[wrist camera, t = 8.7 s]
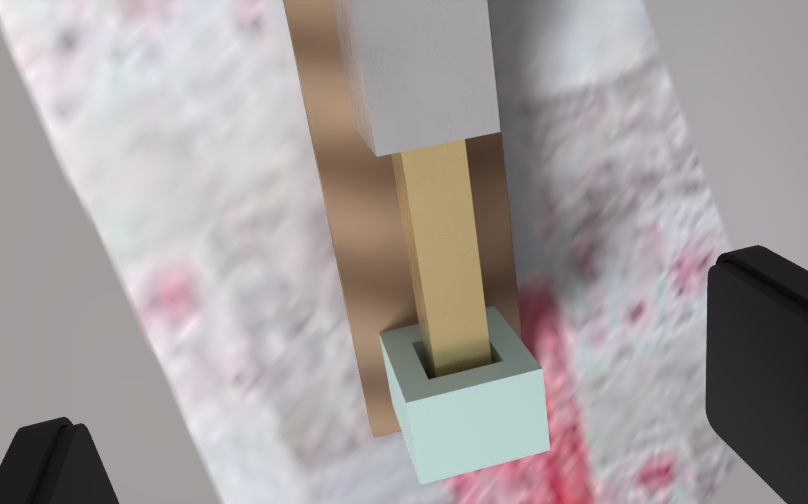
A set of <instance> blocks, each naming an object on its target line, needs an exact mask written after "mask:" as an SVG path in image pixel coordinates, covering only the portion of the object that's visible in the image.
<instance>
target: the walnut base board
mask: <svg viewBox="0 0 808 504" xmlns="http://www.w3.org/2000/svg"><path fill="white" fill-rule="evenodd" d="M283 2H284V7H285V12H286V17H287V22H288V26H289V31H290V36H291V41H292V46H293V51H294V56H295V61H296V65H297V70H298V75H299V80H300V85H301V90H302V95H303V100H304V105H305V109H306V114H307V119H308V124H309V129H310V134H311V139H312V144H313V148H314V153H315V158H316V163H317V168H318V173H319V178H320V183H321V187H322V192H323V197H324V202H325V207H326V212H327V217H328V222H329V227H330V231H331V236H332V241H333V246H334V251H335V256H336V261H337V266H338V270H339V275H340V280H341V285H342V290H343V295H344V300H345V305H346V309H347V314H348V319H349V324H350V329H351V334H352V339H353V344H354V349H355V353H356V358H357V363H358V368H359V373H360V378H361V383H362V388H363V392H364V397H365V402H366V407H367V412H368V417H369V422H370V426H371V429H372V433H373V436H374V438H376V437H380V436H384V435H388V434H392V433H395V432H399V431H402V430H401V428H400V425H399V422H398V419H397V416H396V413H395V410H394V408H393V405H392V399H391V394H390V389H389V383H388V378H387V373H386V367H385V362H384V357H383V351H382V346H381V341H380V335H379V333H381V332H386V331H390V330H394V329H398V328H402V327H407V326H411V325H415V324H419V322H418V316H417V310H416V304H415V297H414V291H413V285H412V279H411V273H410V267H409V261H408V254H407V248H406V242H405V236H404V230H403V224H402V218H401V211H400V205H399V199H398V193H397V187H396V181H395V175H394V168H393V162H392V156H391V154H389V155H384V156H379V157H376V156H375V154H374V153H373V152H372V150H371V149H370V148H369V146H368V145H367V144H366V142H365V141H364V140H363V138H362V137H361V136H360V134H359V133H358V132H357V131H356V129H355V128H354V124H353V118H352V113H351V107H350V101H349V96H348V90H347V85H346V79H345V74H344V68H343V63H342V57H341V52H340V46H339V41H338V35H337V29H336V24H335V18H334V13H333V7H332V2H331V0H283ZM487 2H488V0H487ZM488 12H489V8H488ZM489 22H490V18H489ZM490 32H491V28H490ZM491 42H492V38H491ZM492 52H493V48H492ZM493 61H494V58H493ZM494 71H495V68H494ZM495 81H496V78H495ZM496 91H497V88H496ZM497 101H498V97H497ZM498 111H499V107H498ZM499 121H500V117H499ZM500 131H501V127H500ZM465 145H466V153H467V161H468V169H469V178H470V186H471V194H472V202H473V211H474V219H475V227H476V235H477V244H478V252H479V260H480V268H481V277H482V285H483V293H484V302H485V308H487V307H491V306H495V308H496V309H497V310H498V312H499V313H500V314H501V315H502V317H503V318H504V319H505V321H506V322H507V323H508V325H509V326H510V327H511V328H512V330H513V331H514V332H515V334H516V335H517V336H518V337H519V339H520V340H521V341H522V335H521V325H520V316H519V306H518V296H517V286H516V276H515V266H514V256H513V246H512V236H511V226H510V216H509V207H508V197H507V187H506V177H505V167H504V157H503V147H502V137H501V132H497V133H492V134H487V135H482V136H477V137H473V138H468V139H465Z"/></svg>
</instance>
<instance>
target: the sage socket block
mask: <svg viewBox="0 0 808 504" xmlns="http://www.w3.org/2000/svg"><path fill="white" fill-rule="evenodd" d="M485 310H486V318H487V326H488V335H489V343H490V351H491V359H492V364H490V365H486V366H482V367H478V368H474V369H470V370H466V371H462V372H458V373H454V374H450V375H446V376H442V377H438V378H434V379H430V380H428V377H427V375H426V371H425V369H426V365H425V359H424V353H423V347H422V340H421V334H420V328H419V324H415V325H411V326H407V327H402V328H398V329H394V330H390V331H386V332H381V333H379V335H380V341H381V346H382V351H383V357H384V362H385V367H386V373H387V378H388V383H389V389H390V394H391V399H392V405H393V408H394V410H395V413H396V416H397V419H398V422H399V425H400V428H401V430H402V433H403V436H404V439H405V442H406V445H407V447H408V450H409V453H410V456H411V459H412V462H413V465H414V467H415V470H416V473H417V476H418V479H419V482H420V484H421V485H422V484H426V483H430V482H434V481H437V480H441V479H445V478H448V477H452V476H456V475H460V474H463V473H467V472H471V471H474V470H478V469H482V468H485V467H489V466H493V465H497V464H500V463H504V462H508V461H511V460H515V459H519V458H523V457H526V456H530V455H534V454H537V453H541V452H545V451H549V450H550V445H549V434H548V423H547V412H546V401H545V389H544V378H543V368H542V367H541V366H540V365H539V363H538V362H537V361H536V359H535V358H534V357H533V356H532V354H531V353H530V352H529V350H528V349H527V348H526V346H525V345H524V344H523V343H522V341H521V340H520V339H519V337H518V336H517V335H516V334H515V332H514V331H513V330H512V328H511V327H510V326H509V325H508V323H507V322H506V321H505V319H504V318H503V317H502V315H501V314H500V313H499V312H498V310H497V309H496V308H495V306H491V307H487V308H485Z"/></svg>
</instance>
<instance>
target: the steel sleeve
mask: <svg viewBox="0 0 808 504" xmlns="http://www.w3.org/2000/svg"><path fill="white" fill-rule="evenodd" d="M331 2H332V7H333V13H334V18H335V24H336V29H337V35H338V41H339V46H340V52H341V57H342V63H343V68H344V74H345V79H346V85H347V90H348V96H349V101H350V107H351V113H352V118H353V124H354V128H355V129H356V131H357V132H358V133H359V134H360V136H361V137H362V138H363V140H364V141H365V142H366V144H367V145H368V146H369V148H370V149H371V150H372V152H373V153H374V154H375V156H376V157H379V156H384V155H389V154H394V153H399V152H404V151H408V150H413V149H418V148H423V147H428V146H433V145H438V144H443V143H448V142H453V141H458V140H463V139H468V138H473V137H477V136H482V135H487V134H492V133H497V132H501V131H500V121H499V111H498V101H497V91H496V81H495V71H494V61H493V52H492V42H491V32H490V22H489V12H488V2H487V0H331Z"/></svg>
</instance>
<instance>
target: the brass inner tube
mask: <svg viewBox="0 0 808 504" xmlns="http://www.w3.org/2000/svg"><path fill="white" fill-rule="evenodd" d="M391 156H392V162H393V168H394V175H395V181H396V187H397V193H398V199H399V205H400V211H401V218H402V224H403V230H404V236H405V242H406V248H407V254H408V261H409V267H410V273H411V279H412V285H413V291H414V297H415V304H416V310H417V316H418V322H419V328H420V334H421V340H422V347H423V353H424V359H425V365H426V369H425V371H426V375H427V377H428V380H430V379H434V378H438V377H442V376H446V375H450V374H454V373H458V372H462V371H466V370H470V369H474V368H478V367H482V366H486V365H490V364H492V359H491V351H490V343H489V335H488V326H487V318H486V310H485V302H484V293H483V285H482V277H481V268H480V260H479V252H478V244H477V235H476V227H475V219H474V211H473V202H472V194H471V186H470V178H469V169H468V161H467V153H466V145H465V139H463V140H458V141H453V142H448V143H443V144H438V145H433V146H428V147H423V148H418V149H413V150H408V151H404V152H399V153H394V154H391Z"/></svg>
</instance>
